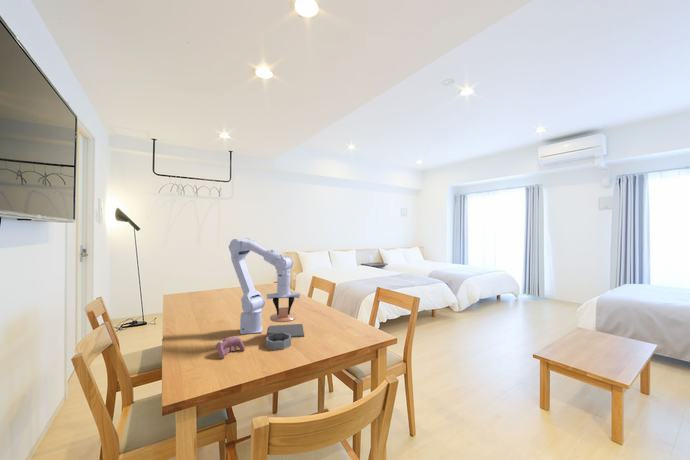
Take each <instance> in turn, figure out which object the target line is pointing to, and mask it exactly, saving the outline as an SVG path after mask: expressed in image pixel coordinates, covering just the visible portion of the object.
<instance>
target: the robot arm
mask: <svg viewBox="0 0 690 460" xmlns="http://www.w3.org/2000/svg"><path fill="white" fill-rule="evenodd" d="M228 250H229V252H230V259H231V263H232V266H233V268H234V271H235V274H236V277H237V279H238V282H239V285H240V287H241V291H242V293H243V295H242V297H241V299H240V302H241V308H242V311H243V312H241V313H240V322H239V324H240V325H239V329H240V330H239V331H240V332H239V334H241V335H244V334H245V335H246V334H247V335H248V334H259V333H263V328H264V326H263V325H262V316H263V315H262V314H263V313H262V311H263V308H264V307H265V305H266V301H265V298H264V297H263V296H262V293H261V292H260V291H258V290H257V289H256V288H255V285H254V282H253V279H252V276H251V274H250V271H249V268H248V266H247V263H246V260H245V259H246V257H247V256H248V254H249V253H250V252H253V253H255V254H257V255H258V256H261V257H263V260H264V261H265V262H267V263H269V264H270V265H271V266H274V268H275V270H276V274H277V278H276V279H277V280H276V292H275V293H267V294H266V300H271V299H272V302H273V305H274V307H275V310H276V314H277V315H279V308H280V305H279V304H280V303H279V301H280V299H288V306H287V307H288V315H290V313H291V309H292V307H293V304H294V301H295V299H301V293H300V292H291V268H293V265H294V261H293V259H292V258H291V257H290V256H287V255H286V256H284V254H281V253H278V252H277V251H276V249H268V250H267V249H266V248H264V247H263V246H261V245H260V244H258V243H256V242H255V240H253V239H251V238H250V237H249V238H247V237H246V238H233V239H232V240H231V241H230V242H229V245H228Z"/></svg>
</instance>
